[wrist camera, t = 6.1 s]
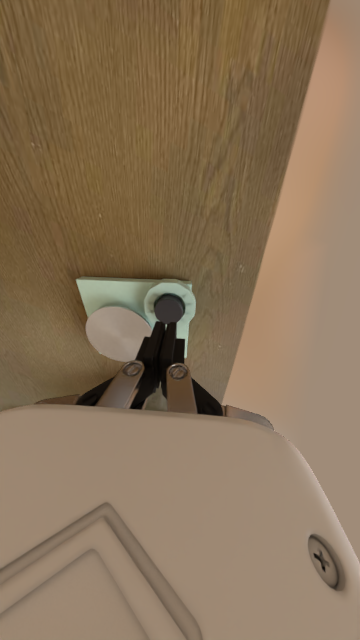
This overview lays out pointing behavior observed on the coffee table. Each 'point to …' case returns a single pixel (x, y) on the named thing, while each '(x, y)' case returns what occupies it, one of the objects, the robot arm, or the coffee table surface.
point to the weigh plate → (117, 332)
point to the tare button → (169, 309)
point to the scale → (138, 297)
